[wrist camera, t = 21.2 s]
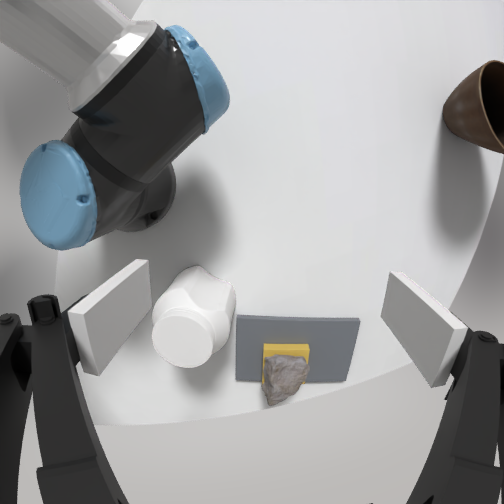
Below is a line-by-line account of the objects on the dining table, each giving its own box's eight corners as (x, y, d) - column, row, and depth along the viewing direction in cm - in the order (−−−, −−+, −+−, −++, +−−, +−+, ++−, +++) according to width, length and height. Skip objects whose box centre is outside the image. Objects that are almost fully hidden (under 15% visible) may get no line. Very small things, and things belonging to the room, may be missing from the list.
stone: (294, 392, 51) (296, 413, 45) (253, 384, 51) (251, 405, 45) (312, 353, 48) (317, 373, 43) (268, 343, 48) (268, 363, 42)
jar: (245, 291, 49) (238, 337, 35) (219, 332, 52) (205, 385, 37) (185, 257, 48) (155, 292, 34) (163, 301, 50) (131, 346, 36)
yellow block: (263, 343, 50) (262, 376, 52) (263, 349, 48) (262, 383, 50) (308, 343, 50) (303, 376, 52) (309, 349, 48) (304, 383, 50)
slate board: (236, 375, 54) (235, 379, 53) (237, 314, 50) (236, 317, 49) (344, 377, 53) (345, 380, 52) (358, 317, 50) (360, 321, 49)
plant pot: (471, 171, 42) (528, 177, 26) (415, 126, 41) (471, 114, 25) (488, 112, 38) (541, 104, 22) (436, 66, 37) (486, 41, 21)
